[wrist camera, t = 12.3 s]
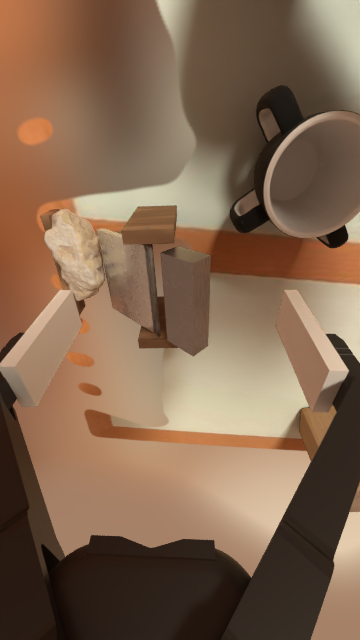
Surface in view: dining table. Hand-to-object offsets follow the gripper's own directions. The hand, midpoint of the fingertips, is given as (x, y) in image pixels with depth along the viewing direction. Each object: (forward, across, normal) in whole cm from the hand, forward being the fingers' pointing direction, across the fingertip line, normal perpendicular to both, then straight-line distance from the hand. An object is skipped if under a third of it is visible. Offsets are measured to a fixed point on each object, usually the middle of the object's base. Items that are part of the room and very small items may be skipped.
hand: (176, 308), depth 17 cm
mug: (+30, +14, +4) cm, 34 cm away
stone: (+25, -14, -6) cm, 29 cm away
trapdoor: (+20, -4, -9) cm, 23 cm away
